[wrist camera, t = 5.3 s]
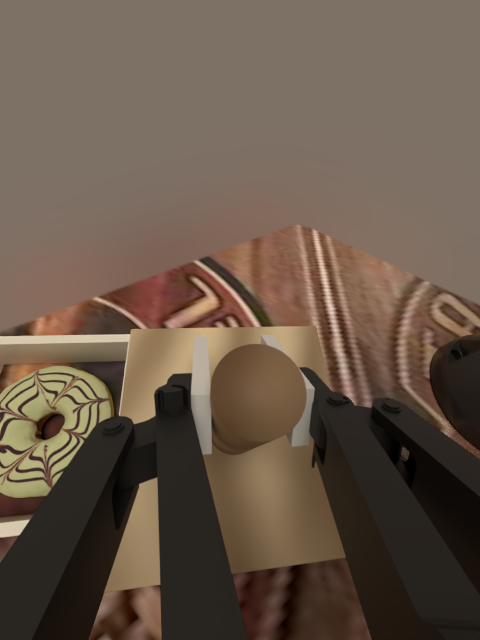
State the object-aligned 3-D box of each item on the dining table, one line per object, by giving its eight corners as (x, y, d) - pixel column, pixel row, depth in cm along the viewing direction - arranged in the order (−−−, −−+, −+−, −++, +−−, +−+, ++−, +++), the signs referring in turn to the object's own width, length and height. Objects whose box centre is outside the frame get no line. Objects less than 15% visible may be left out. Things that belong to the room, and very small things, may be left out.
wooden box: (146, 353, 31) (137, 334, 26) (131, 513, 23) (116, 523, 19) (-2, 357, 28) (-38, 336, 24) (-70, 537, 21) (-139, 554, 17)
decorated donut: (-34, 467, 24) (-72, 466, 20) (49, 361, 29) (30, 347, 26) (72, 513, 23) (51, 520, 20) (137, 396, 28) (129, 386, 25)
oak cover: (310, 332, 23) (380, 241, 14) (359, 548, 16) (566, 654, 7) (134, 336, 21) (80, 233, 12) (104, 584, 14) (-83, 801, 5)
